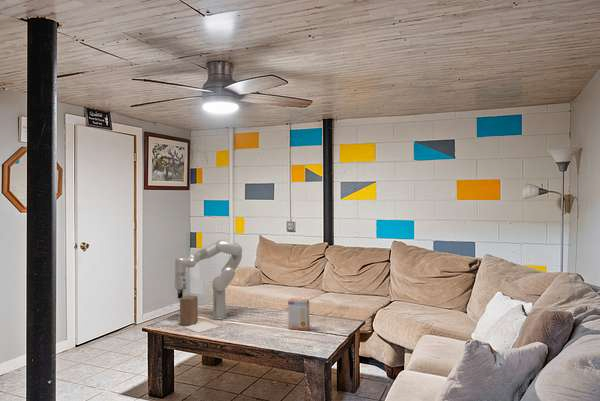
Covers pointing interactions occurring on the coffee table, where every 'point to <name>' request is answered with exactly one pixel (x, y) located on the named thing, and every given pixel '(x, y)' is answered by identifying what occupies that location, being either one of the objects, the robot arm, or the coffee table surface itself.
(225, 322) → the coffee table surface
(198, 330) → the mat
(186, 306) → the wooden block
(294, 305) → the cracker box
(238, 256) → the robot arm
